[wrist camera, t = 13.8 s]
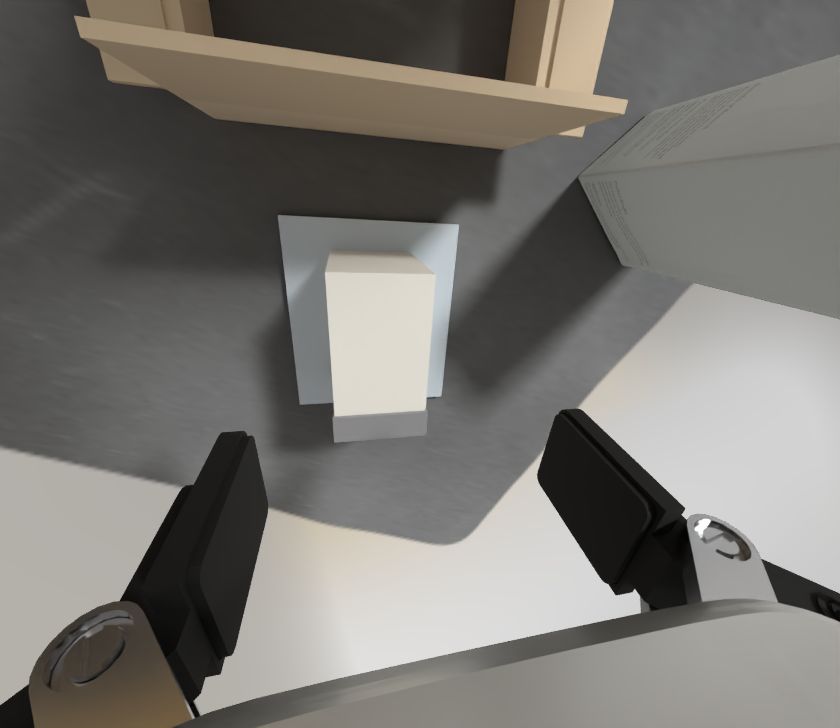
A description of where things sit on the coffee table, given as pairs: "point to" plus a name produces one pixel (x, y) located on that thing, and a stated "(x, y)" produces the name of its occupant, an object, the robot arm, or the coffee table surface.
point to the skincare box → (734, 190)
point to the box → (379, 343)
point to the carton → (365, 76)
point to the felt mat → (307, 286)
